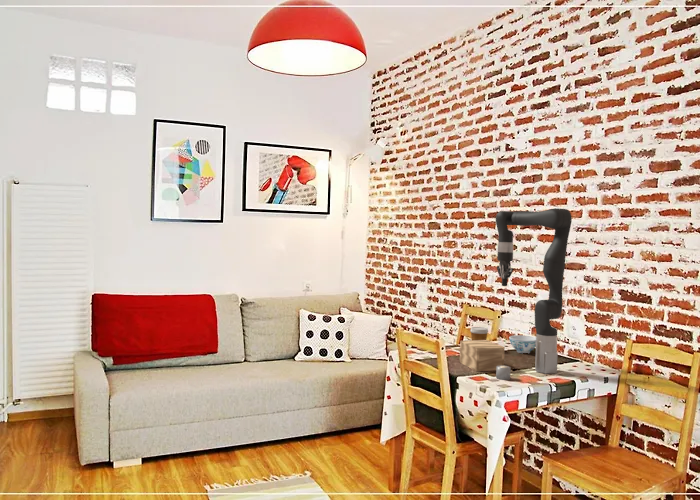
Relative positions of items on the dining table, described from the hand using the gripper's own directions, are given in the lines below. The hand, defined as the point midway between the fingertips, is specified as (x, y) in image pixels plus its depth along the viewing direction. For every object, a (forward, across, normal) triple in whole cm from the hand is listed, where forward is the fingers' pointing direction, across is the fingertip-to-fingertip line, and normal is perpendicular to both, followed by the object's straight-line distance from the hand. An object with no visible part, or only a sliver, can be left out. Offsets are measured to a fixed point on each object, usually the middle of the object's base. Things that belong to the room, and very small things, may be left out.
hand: (504, 285), depth 301 cm
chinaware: (+37, +14, -20) cm, 44 cm away
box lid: (+27, -11, +17) cm, 34 cm away
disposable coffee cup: (+37, +22, +2) cm, 43 cm away
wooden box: (+37, -11, +17) cm, 42 cm away
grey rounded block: (+37, -34, +18) cm, 53 cm away
